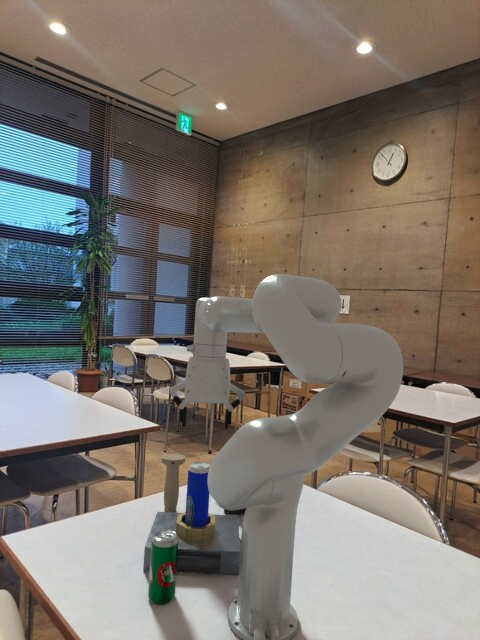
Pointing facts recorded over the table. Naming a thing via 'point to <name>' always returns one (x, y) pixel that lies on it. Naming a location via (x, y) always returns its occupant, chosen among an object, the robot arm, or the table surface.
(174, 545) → the soda can
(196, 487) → the beverage can
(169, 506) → the handle
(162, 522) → the grey block platform
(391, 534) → the table surface
